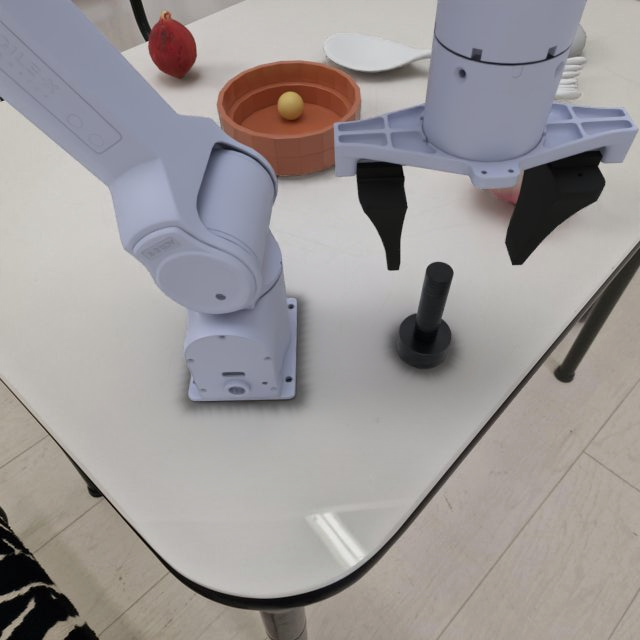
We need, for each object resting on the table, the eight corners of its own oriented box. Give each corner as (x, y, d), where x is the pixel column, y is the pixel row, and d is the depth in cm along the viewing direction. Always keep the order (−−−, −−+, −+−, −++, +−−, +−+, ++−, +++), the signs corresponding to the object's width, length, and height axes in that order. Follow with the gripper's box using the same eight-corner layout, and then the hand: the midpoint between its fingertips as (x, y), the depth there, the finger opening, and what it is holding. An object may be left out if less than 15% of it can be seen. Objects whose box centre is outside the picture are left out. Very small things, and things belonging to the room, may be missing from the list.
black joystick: (451, 368, 40) (476, 294, 32) (399, 369, 40) (413, 295, 33) (443, 326, 42) (465, 248, 35) (394, 327, 42) (406, 250, 35)
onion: (193, 91, 65) (177, 24, 59) (150, 87, 66) (130, 21, 59) (208, 68, 68) (194, 2, 62) (167, 65, 69) (150, 0, 63)
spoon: (571, 120, 59) (583, 91, 56) (313, 74, 67) (312, 47, 64) (578, 81, 64) (589, 53, 61) (337, 42, 72) (337, 16, 69)
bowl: (363, 178, 54) (365, 135, 50) (218, 182, 54) (209, 140, 50) (355, 99, 63) (356, 58, 59) (231, 103, 63) (224, 62, 59)
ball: (304, 124, 59) (303, 100, 56) (278, 125, 59) (275, 101, 56) (304, 110, 61) (303, 85, 58) (279, 111, 61) (276, 86, 58)
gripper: (333, 91, 20) (340, 310, 30) (723, 70, 19) (589, 300, 30) (329, 10, 24) (336, 228, 35) (648, -9, 23) (554, 218, 34)
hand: (452, 256), depth 33 cm, fingers open, 7 cm apart
